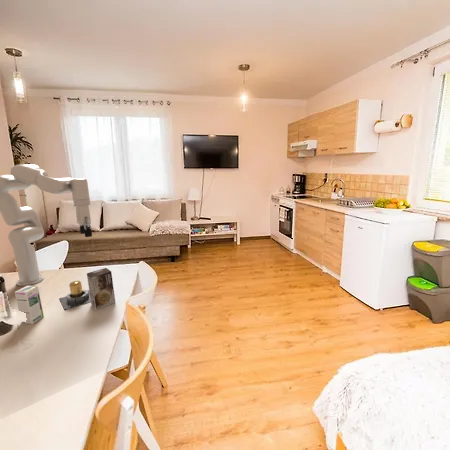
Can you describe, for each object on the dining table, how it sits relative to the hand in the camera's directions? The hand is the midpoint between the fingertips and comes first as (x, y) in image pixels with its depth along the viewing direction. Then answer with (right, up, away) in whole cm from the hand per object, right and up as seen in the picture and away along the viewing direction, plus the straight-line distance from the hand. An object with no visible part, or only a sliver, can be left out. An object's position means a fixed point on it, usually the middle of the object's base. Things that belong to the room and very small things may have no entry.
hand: (86, 235), depth 142 cm
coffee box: (+16, -32, -15) cm, 39 cm away
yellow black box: (+1, -31, -10) cm, 32 cm away
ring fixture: (+1, -31, -10) cm, 33 cm away
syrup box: (-9, -35, -27) cm, 45 cm away
